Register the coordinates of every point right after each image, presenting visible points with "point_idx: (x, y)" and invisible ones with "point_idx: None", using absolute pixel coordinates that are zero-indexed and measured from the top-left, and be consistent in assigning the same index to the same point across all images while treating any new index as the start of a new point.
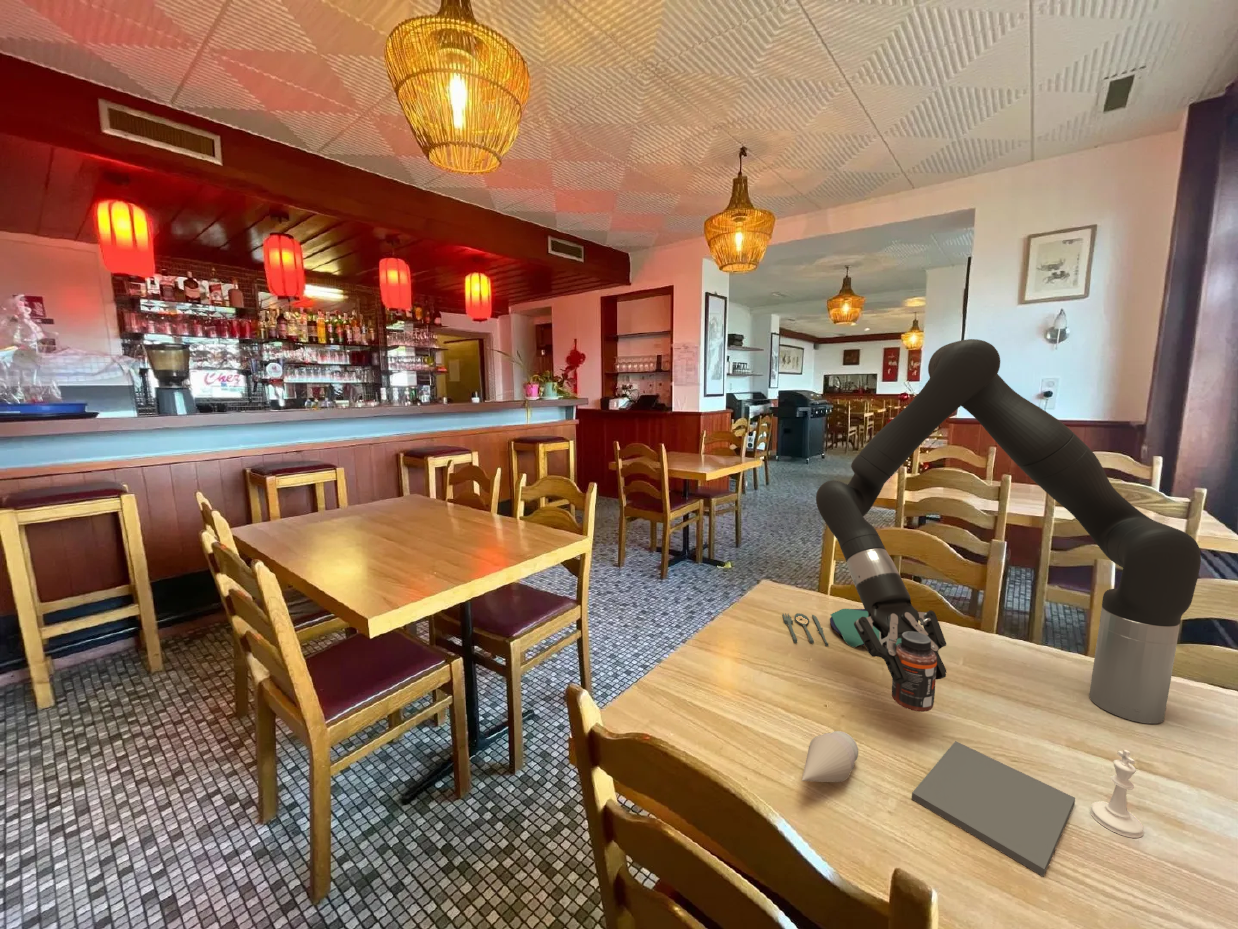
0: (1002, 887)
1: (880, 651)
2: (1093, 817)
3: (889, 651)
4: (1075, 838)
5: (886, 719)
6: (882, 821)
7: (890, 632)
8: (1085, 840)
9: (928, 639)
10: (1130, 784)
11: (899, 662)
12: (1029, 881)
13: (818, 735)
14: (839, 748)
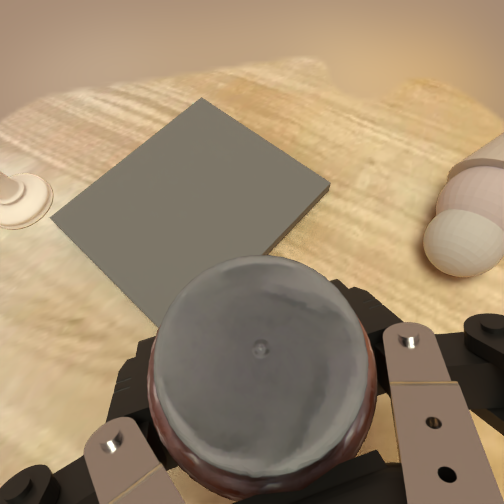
0: (261, 88)
1: (484, 315)
2: (51, 202)
3: (425, 334)
4: (113, 164)
5: None
6: (386, 145)
7: (465, 422)
8: (102, 163)
9: (182, 310)
10: None
11: (358, 312)
12: (224, 99)
13: None
14: (498, 152)
